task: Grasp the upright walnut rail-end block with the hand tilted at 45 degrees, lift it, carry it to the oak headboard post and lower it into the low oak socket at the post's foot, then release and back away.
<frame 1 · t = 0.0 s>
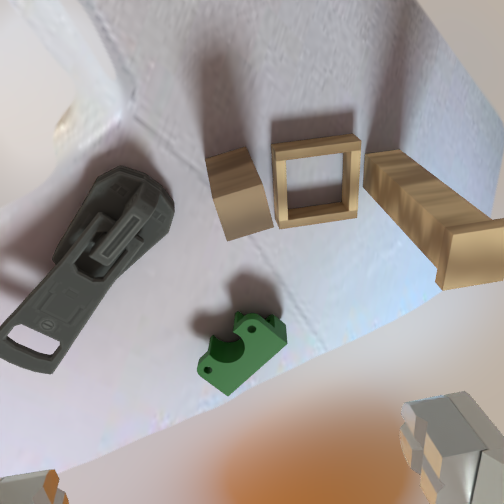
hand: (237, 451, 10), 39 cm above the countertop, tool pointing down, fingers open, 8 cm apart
rail end block: (231, 171, 48), on the countertop
zipper pull: (87, 257, 51), on the countertop
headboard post: (325, 176, 50), on the countertop
clamp: (237, 330, 61), on the countertop
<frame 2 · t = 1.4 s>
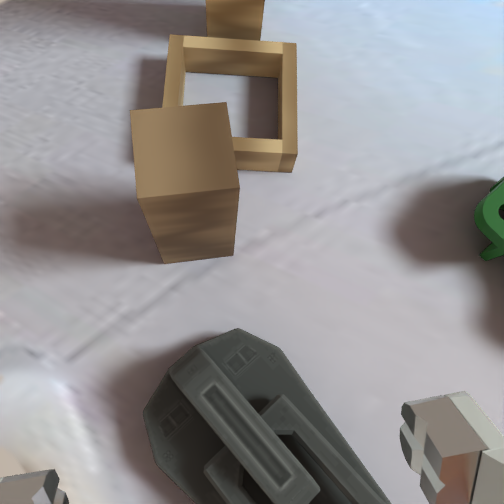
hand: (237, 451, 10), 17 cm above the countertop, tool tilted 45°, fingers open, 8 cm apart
rail end block: (195, 227, 30), on the countertop
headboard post: (231, 96, 33), on the countertop
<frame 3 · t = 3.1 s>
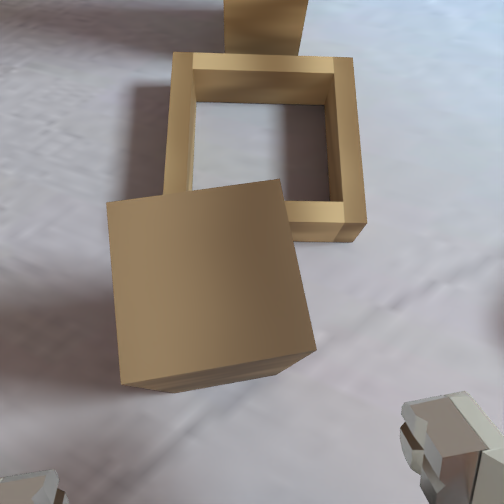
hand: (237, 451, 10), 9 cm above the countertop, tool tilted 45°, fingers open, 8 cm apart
rail end block: (218, 333, 20), on the countertop
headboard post: (260, 134, 24), on the countertop
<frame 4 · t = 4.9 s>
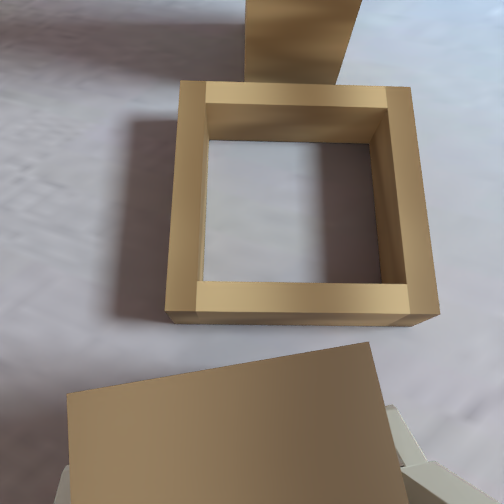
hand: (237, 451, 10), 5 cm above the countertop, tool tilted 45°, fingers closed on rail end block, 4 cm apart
rail end block: (239, 455, 15), on the countertop, touching gripper
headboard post: (290, 182, 19), on the countertop
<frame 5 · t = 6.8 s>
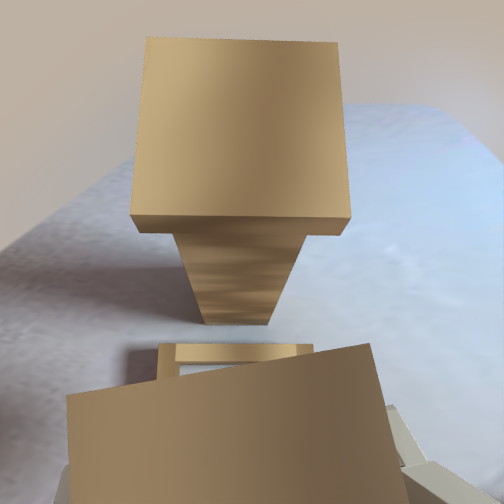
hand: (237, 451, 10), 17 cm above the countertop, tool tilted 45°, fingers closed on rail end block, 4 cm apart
rail end block: (239, 455, 15), point 12 cm above the countertop, touching gripper
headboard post: (235, 398, 27), on the countertop
when the fingers open (7 cm above the countertop, at t = 9.2 s): rail end block drops 2 cm, resting in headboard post.
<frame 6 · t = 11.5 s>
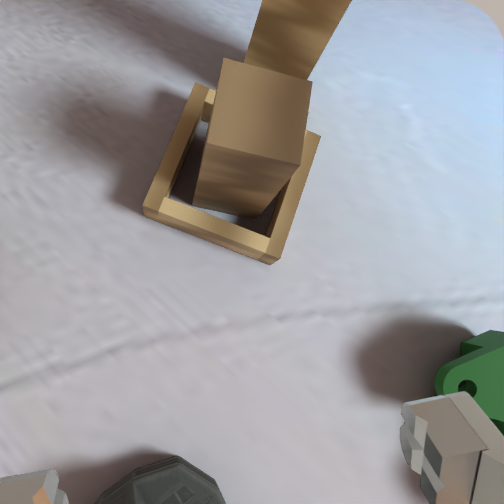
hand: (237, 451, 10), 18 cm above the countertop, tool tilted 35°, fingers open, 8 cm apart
rail end block: (230, 182, 31), resting in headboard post
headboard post: (238, 163, 31), on the countertop
clamp: (470, 423, 31), on the countertop
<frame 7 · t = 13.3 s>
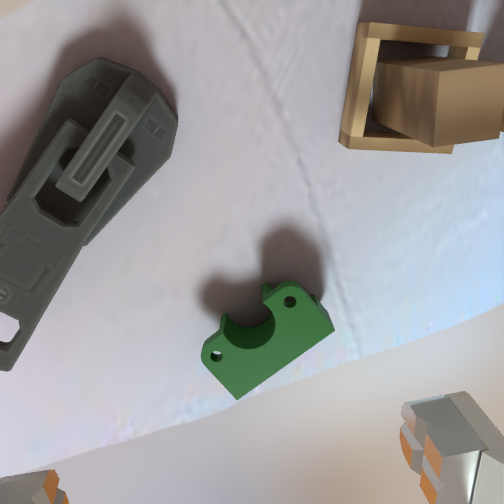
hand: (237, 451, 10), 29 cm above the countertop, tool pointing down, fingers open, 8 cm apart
rail end block: (399, 88, 36), resting in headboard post
zipper pull: (61, 204, 37), on the countertop
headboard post: (416, 90, 37), on the countertop
clamp: (258, 313, 44), on the countertop
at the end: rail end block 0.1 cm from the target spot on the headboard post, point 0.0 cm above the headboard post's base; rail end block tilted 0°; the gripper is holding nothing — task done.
